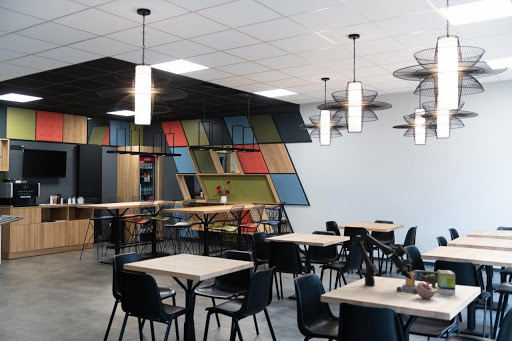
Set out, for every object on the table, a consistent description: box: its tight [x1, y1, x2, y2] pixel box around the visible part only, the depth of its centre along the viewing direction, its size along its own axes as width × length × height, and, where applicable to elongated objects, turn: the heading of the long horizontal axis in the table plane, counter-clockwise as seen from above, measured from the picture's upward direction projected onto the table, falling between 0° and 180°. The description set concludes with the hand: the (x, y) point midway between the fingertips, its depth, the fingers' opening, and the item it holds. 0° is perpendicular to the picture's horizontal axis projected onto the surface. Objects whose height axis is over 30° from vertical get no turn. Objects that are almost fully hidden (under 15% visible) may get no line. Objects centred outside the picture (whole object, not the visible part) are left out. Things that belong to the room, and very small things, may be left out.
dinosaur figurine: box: [418, 272, 437, 290], centre depth 355 cm, size 22×8×11 cm, turn 123°
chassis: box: [396, 283, 418, 294], centre depth 344 cm, size 16×15×4 cm
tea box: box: [436, 269, 456, 296], centre depth 339 cm, size 15×10×15 cm, turn 168°
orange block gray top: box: [405, 271, 416, 287], centre depth 344 cm, size 5×4×11 cm
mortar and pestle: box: [416, 281, 436, 300], centre depth 319 cm, size 12×12×11 cm
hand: (412, 278), depth 343 cm, fingers closed on orange block gray top, 4 cm apart
